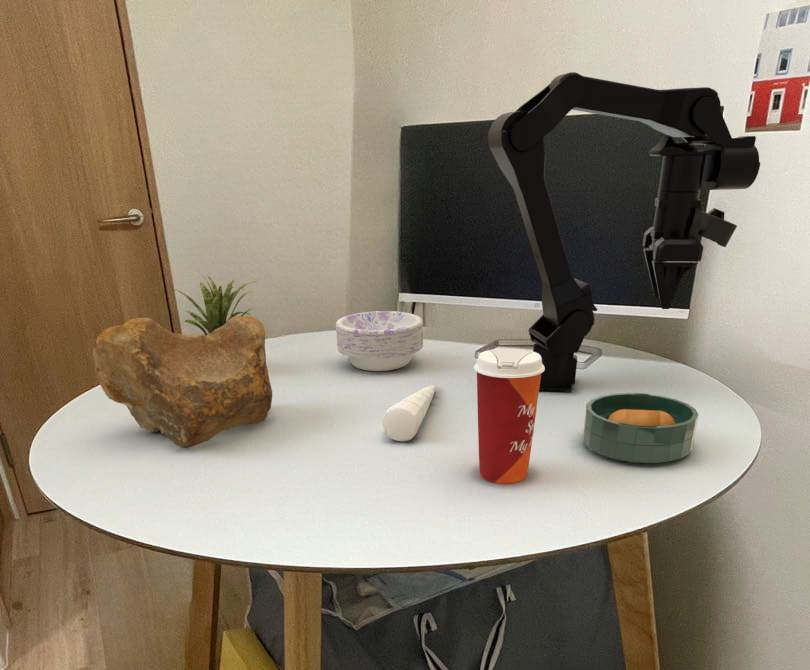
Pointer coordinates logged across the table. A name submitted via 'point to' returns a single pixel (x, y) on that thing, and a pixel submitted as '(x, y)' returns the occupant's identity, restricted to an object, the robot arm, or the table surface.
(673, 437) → the green pet bowl
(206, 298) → the house plant
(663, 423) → the bread roll
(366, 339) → the paper bowls
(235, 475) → the table surface
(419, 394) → the unicorn horn
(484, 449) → the paper cup
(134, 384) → the rough brown rock
